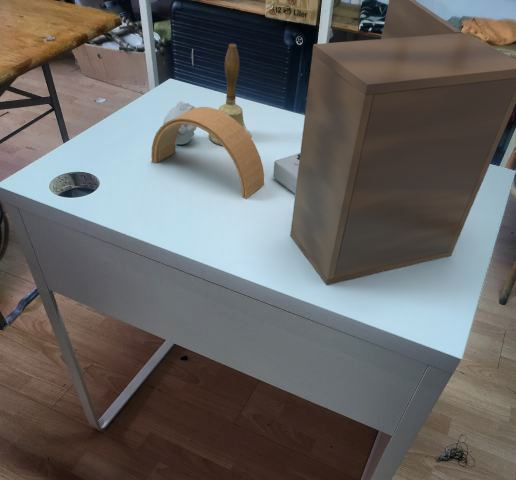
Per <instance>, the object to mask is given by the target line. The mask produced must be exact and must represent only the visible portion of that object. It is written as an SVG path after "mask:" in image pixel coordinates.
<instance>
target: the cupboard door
mask: <svg viewBox="0 0 516 480" xmlns="http://www.w3.org/2000/svg"><path fill="white" fill-rule="evenodd" d="M454 33H463V31H461V30H460V29H458V28H457V27H455V26H454V25H452V24H451V23H450V22H448V21H447V20H445V19H444V18H442V17H441V16H440V15H438V14H436V13H435V12H434V11H432V10H430V9H429V8H428V7H426V6H425V5H423V4H422V3H420V2H419V1H417V0H388V4H387V9H386V13H385V18H384V23H383V28H382V33H381V38H380V39H389V38H402V37H415V36H428V35H441V34H454Z"/></svg>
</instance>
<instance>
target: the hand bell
mask: <svg viewBox="0 0 516 480" xmlns="http://www.w3.org/2000/svg"><path fill="white" fill-rule="evenodd" d="M239 73H240V56H239V51H238V47H237V44H236V43H229V44H228V48H227V51H226V54H225V58H224V75H225V79H226V97H225V100H226V101H225V103H224V104H221V105H220V106H219V107H218V110H220V111H222V112H224V113H226V114H227V115H229V116H230V117H232V118H233V119H234V120H236V121H237V122H238V123H239V124H240V125H241V126H242V127H243V128H244V130H245V131H246V132H247V133H248V135H249V136H250V138H251V139H252V138H253V137H252V134H251V132H250V131H249V129H248V128H247V126H246V124H245V120H244V113H243V112H244V111H243V108H242V107H241V106H240V105H239V104H237V103H236V98H237V96H236V94H237V93H236V91H237V90H236V89H237V88H236V87H237V81H238V78H239ZM208 138H209V140H210V141H211V142H213V143H214V144H216V145H219V146H222V145H221V143H220V142H219V141H217V140H216V139H215V138H214V137H213V136H212V135H210V134H209V133H208Z"/></svg>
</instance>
